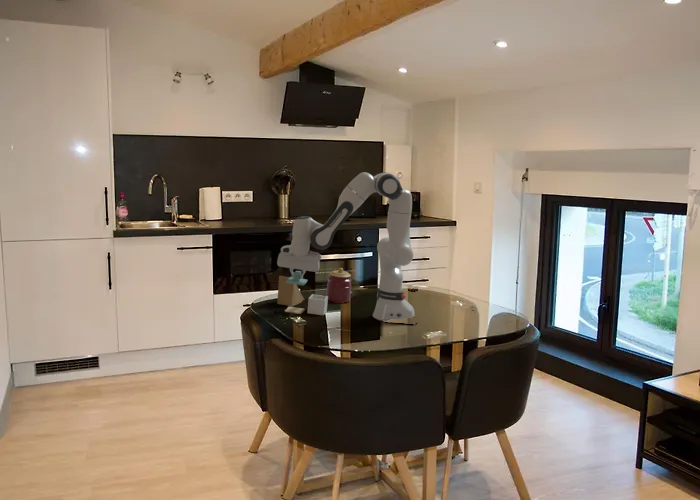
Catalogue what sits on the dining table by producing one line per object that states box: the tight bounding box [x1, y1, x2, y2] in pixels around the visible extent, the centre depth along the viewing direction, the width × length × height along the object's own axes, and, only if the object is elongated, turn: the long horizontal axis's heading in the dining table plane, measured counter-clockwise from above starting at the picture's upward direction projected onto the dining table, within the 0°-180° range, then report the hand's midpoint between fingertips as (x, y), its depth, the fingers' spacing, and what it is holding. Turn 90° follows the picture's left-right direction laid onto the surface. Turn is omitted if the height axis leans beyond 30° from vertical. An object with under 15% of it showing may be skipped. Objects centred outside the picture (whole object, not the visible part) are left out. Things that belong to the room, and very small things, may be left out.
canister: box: [325, 267, 353, 304], centre depth 334 cm, size 13×13×18 cm
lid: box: [286, 270, 308, 286], centre depth 304 cm, size 9×9×5 cm
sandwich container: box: [276, 275, 305, 307], centre depth 321 cm, size 9×15×15 cm, turn 157°
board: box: [284, 306, 305, 315], centre depth 307 cm, size 8×8×1 cm
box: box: [306, 293, 329, 316], centre depth 308 cm, size 8×8×8 cm
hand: (297, 278), depth 304 cm, fingers closed on lid, 2 cm apart
